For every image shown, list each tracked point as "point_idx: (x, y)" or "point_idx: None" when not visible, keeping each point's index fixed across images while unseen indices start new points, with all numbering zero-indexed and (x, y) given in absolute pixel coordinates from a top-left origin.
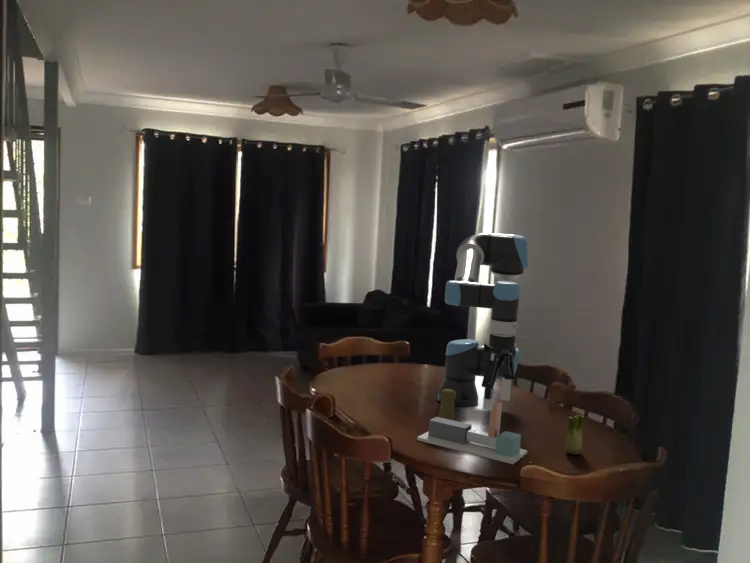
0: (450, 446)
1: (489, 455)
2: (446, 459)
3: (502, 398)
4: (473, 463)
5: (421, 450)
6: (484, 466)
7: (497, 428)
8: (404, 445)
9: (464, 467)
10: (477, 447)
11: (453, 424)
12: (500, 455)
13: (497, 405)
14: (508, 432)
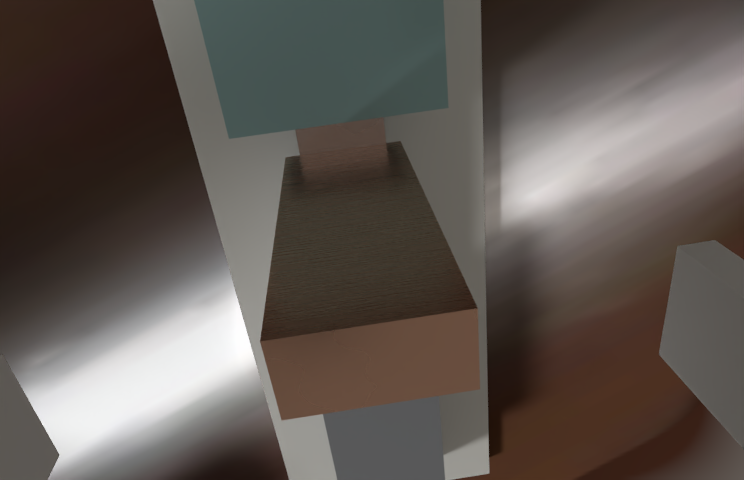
0: (484, 324)
1: (480, 85)
2: (661, 238)
3: (37, 445)
4: (634, 101)
5: (607, 376)
6: (646, 19)
7: (350, 174)
8: (591, 448)
9: (734, 101)
10: None
11: (416, 441)
12: None
13: (465, 303)
14: (240, 96)
